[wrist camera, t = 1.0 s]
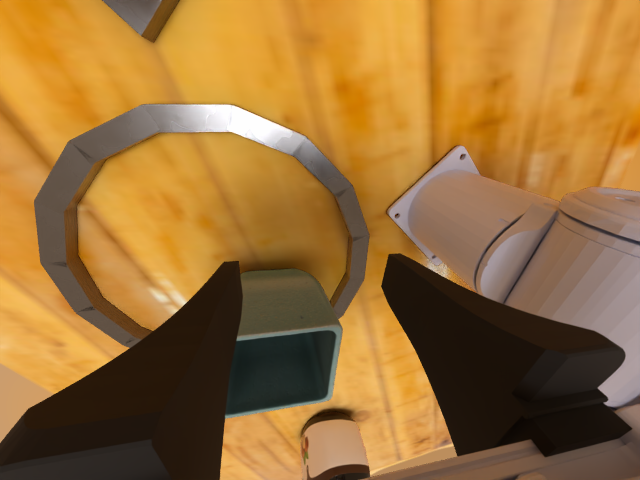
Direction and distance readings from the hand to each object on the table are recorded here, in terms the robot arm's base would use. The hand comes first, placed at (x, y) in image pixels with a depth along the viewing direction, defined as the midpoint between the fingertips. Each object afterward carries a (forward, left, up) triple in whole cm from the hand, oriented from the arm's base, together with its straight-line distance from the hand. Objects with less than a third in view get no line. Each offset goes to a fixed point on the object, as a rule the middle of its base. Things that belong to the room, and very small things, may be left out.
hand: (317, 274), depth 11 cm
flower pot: (-4, +8, -10) cm, 14 cm away
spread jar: (-31, +25, -10) cm, 41 cm away
